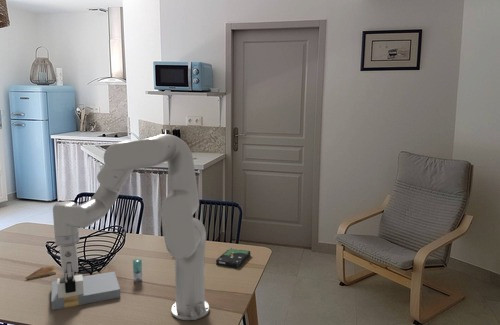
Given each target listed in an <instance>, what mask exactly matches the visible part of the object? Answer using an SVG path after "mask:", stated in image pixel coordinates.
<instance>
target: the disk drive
mask: <svg viewBox="0 0 500 325" xmlns="http://www.w3.org/2000/svg"><path fill="white" fill-rule="evenodd" d="M250 257H251V251H250V250H245V249H244V250H243V249H237V248H236V249H235V248H232V247H231V248H229V249H227V250H226V251H225V252H224V253H222V254H221V255H219V257H218V258H217V259H216V260H215V264H216V265H218V266H223V267H228V268H232V269H233V268H234V269H239V268H240V267H241V266H242V265H243V264H244V263H245V262H246V261H247V260H248V259H249V258H250ZM247 258H248V259H247ZM246 259H247V260H246ZM245 260H246V261H245ZM244 261H245V262H244ZM243 262H244V263H243Z"/></svg>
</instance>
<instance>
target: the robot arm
mask: <svg viewBox="0 0 500 325" xmlns="http://www.w3.org/2000/svg"><path fill="white" fill-rule="evenodd" d="M166 162H167V167H168V170H167V171H168V172H167V178H168V184H169V194H168V195H167V196H166V197H165V198H164V200H162V203H161V208H160V215H161V223H162V225H161V226H162V230H163V237H164V244H165V248H166V251H167V252H168V253H169V255H170V256H172V258H174V260H175V261H174V265H175V266H174V268H175V269H174V272H175V273H174V275H175V303H173V305H171V311H170V312H171V314H172V316H173V317H174V318H176V319H178V320H182V321H196V320H200V319H202V318H203V317H205V316H207V315H208V313H209V312H210V305H209V303H208V301H206V297H205V296H206V295H205V292H206V291H205V264H206V263H205V257H206V256H205V253H206V242H207V240H206V239H207V232H206V228H205V225H204V224H203V222H202V221H201V220H199V219H198V218H195V217H193V215H194V214H195V213H196V212H197V211H198V209H199V206H200V198H199V190H198V185H197V183H198V182H197V177H196V171H195V163H194V157H193V154H192V151H191V149H190V147H189V145H188V144H187V142H185V141H184V140H183V139H181V138H180V137H178V136H176V135H173V134H168V133H164V134H163V133H162V134H158V135H155V136H151V137H148V138H142V139H137V140H123V141H119V142H115V143H113V144H111V145H109V146H108V147H107V148H106V149H105V152H104V154H103V163H104V165H103V166H102V168H101V169H100V171H99V172H98V173H97V176H96V179H97V181H98V183H99V186H98V188H97V190H96V191H95V192H94V194H93V196H92V197H91V198H90V199H89V200H87V201H85V202H82V203H81V204H78V205H77V203H76V202H74V201H70V200H69V201H68V200H65V201H59V202H56V203H55V204H54V205H53V207H52V218H53V219H52V220H53V231H54V244H55V245H56V246H58V247H59V256H60V257H59V258H60V264H61V271H62V274H63V275H64V277H65V280H66V282H65V292H66V293H71V292H75V291H76V285H75V280H74V276H76V274H75V273H78V272H79V261H78V247H77V244H78V243H79V242H80V233H79V232H80V229H85V228H88V227H90V226H92V225H93V224H95V223H96V222H98V221H99V220H101V219H103V218H104V217H105V216H106V214H108V212H109V211H110V210H111V208H112V207H113V206H114V204H115V203H116V201H117V199H118V198H119V195H120V193H121V189H122V187H123V186H124V185H125V183H127V182H126V181H127V180H128V179H129V177H130V176H131V175H132V174H133V172H134V170H140V169H145V168H151V167H156V166H159V165H161V164H163V163H166Z"/></svg>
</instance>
